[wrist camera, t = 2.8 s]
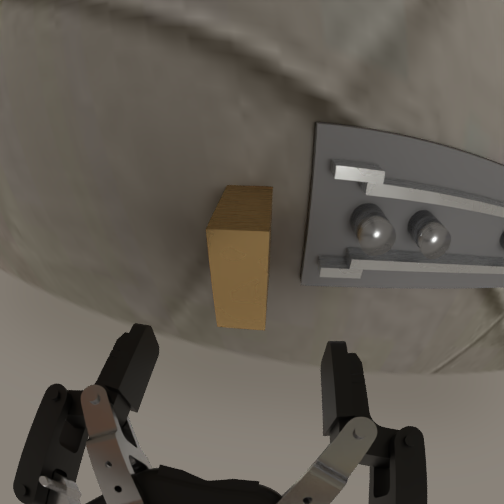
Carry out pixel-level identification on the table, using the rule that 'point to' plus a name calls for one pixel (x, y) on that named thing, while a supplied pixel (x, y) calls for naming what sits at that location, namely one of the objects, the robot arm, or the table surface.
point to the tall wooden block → (241, 256)
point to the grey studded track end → (483, 262)
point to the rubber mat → (399, 205)
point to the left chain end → (383, 234)
